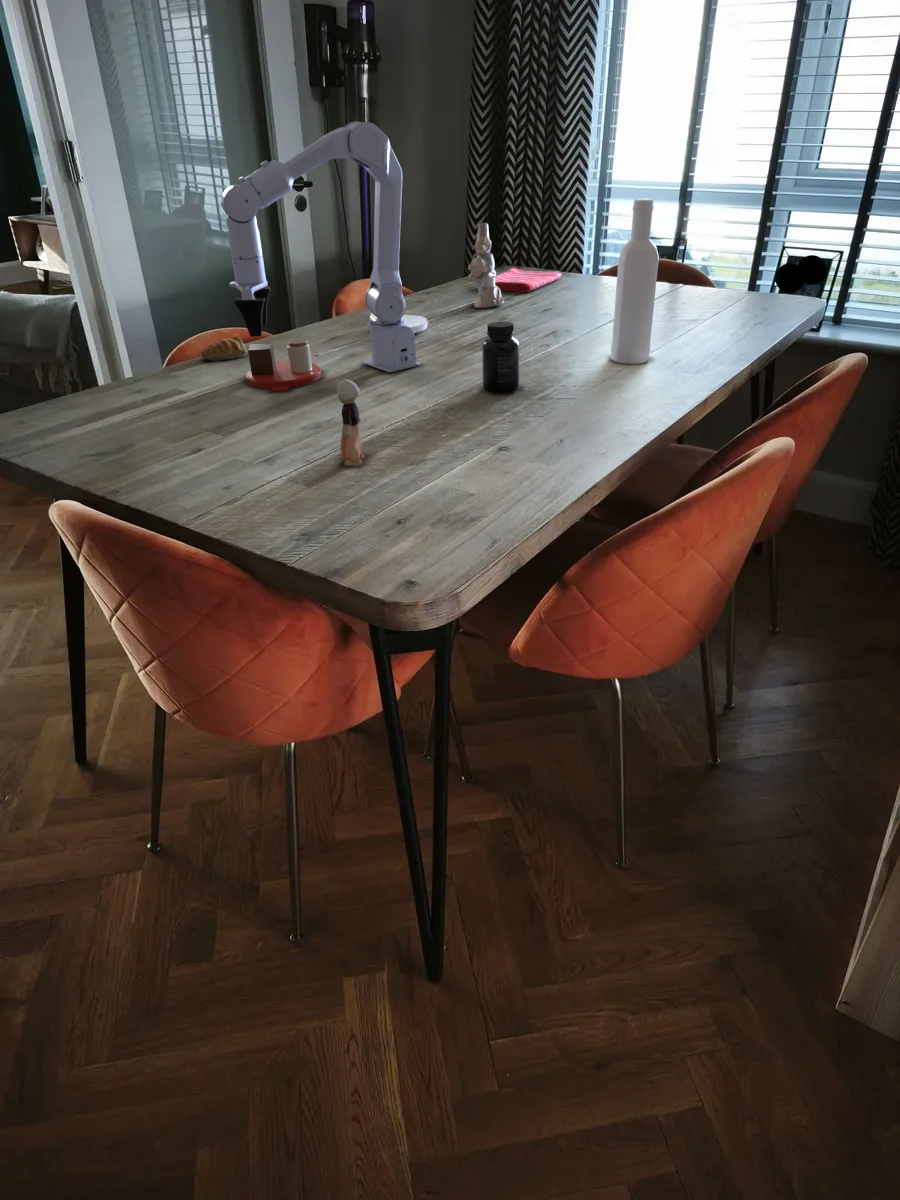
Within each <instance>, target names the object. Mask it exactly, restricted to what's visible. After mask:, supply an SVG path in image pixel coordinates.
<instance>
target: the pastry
mask: <svg viewBox="0 0 900 1200" xmlns="http://www.w3.org/2000/svg"><path fill="white" fill-rule="evenodd" d="M245 345H246V344H244V342H243V340H242V338H241V337H239V336H232V337H231V338H222V339H219V340H218V341H215V342H214V343H212V344H209V345H208V346H206V347H205V348H202V350H201V358H203V359H206V360H209V361H213V362H214V361H215V362H218V361H225V360H234V359H235V358H238V359H241V358H244V357H245V356H246V355H247V353H248V350H247V347H246V346H245Z"/></svg>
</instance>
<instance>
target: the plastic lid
mask: <svg viewBox="0 0 900 1200" xmlns="http://www.w3.org/2000/svg"><path fill="white" fill-rule="evenodd" d="M403 316H404V322H405V324H406V325H407V326H408V327H410V328H411V329H412V331H413V333H414V334H416V333H417V334H418V333H421V332H423V331H426V330H427V328H428V319H427V318H426V317H424V316H420V315H416V314H404V315H403ZM367 324H369V321H368V323H367ZM368 331H370V328H369V327H368Z"/></svg>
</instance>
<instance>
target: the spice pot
mask: <svg viewBox="0 0 900 1200" xmlns="http://www.w3.org/2000/svg"><path fill="white" fill-rule="evenodd" d="M286 348H287V356H288V361H289V364H290V371H291V372H293V373H305V372H309V371H311V370H312V364H313V363H312V354H311V346H310V343H308V341H307V339H303V338H297V339H291V340H289V341H288V344H287V346H286Z"/></svg>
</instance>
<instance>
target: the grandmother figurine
mask: <svg viewBox="0 0 900 1200" xmlns="http://www.w3.org/2000/svg"><path fill="white" fill-rule="evenodd" d="M336 392H337V397H338V400H339V402H340V403H341V404H342V409H341V418H342V428H341V436H340V437H341V438H340V450H339V451H340V459H342V460H344V459H345V460H344V463H343V464H344V466H346V467H357V466H358V467H359V466H362V465H363V460H364V459H365V455H364V454H363V447H362V440H361V435H360V425H359V424H360V423H361V422H362V418H361V417H360V413H359V412H360V411H359V408H358V405H357V402H355V401H356V398H359V396H360V394H361V390H360V389H359V387H358V384H356V383H355V382H354V381H352V380H350V379H342V380H340V381H339V382H338V383H337V384H336Z"/></svg>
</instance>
